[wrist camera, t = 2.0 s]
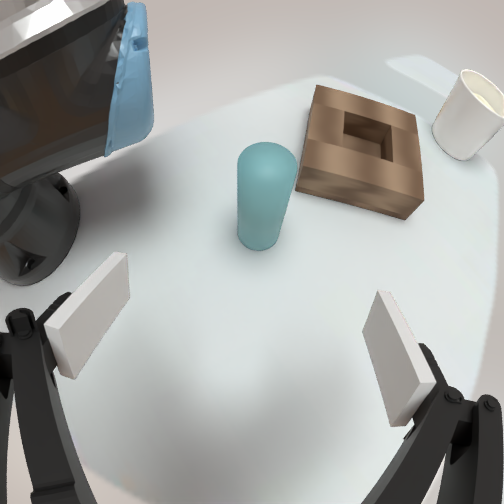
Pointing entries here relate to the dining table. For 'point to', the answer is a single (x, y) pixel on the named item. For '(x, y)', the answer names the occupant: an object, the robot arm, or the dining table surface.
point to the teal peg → (263, 193)
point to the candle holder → (469, 116)
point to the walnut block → (361, 154)
